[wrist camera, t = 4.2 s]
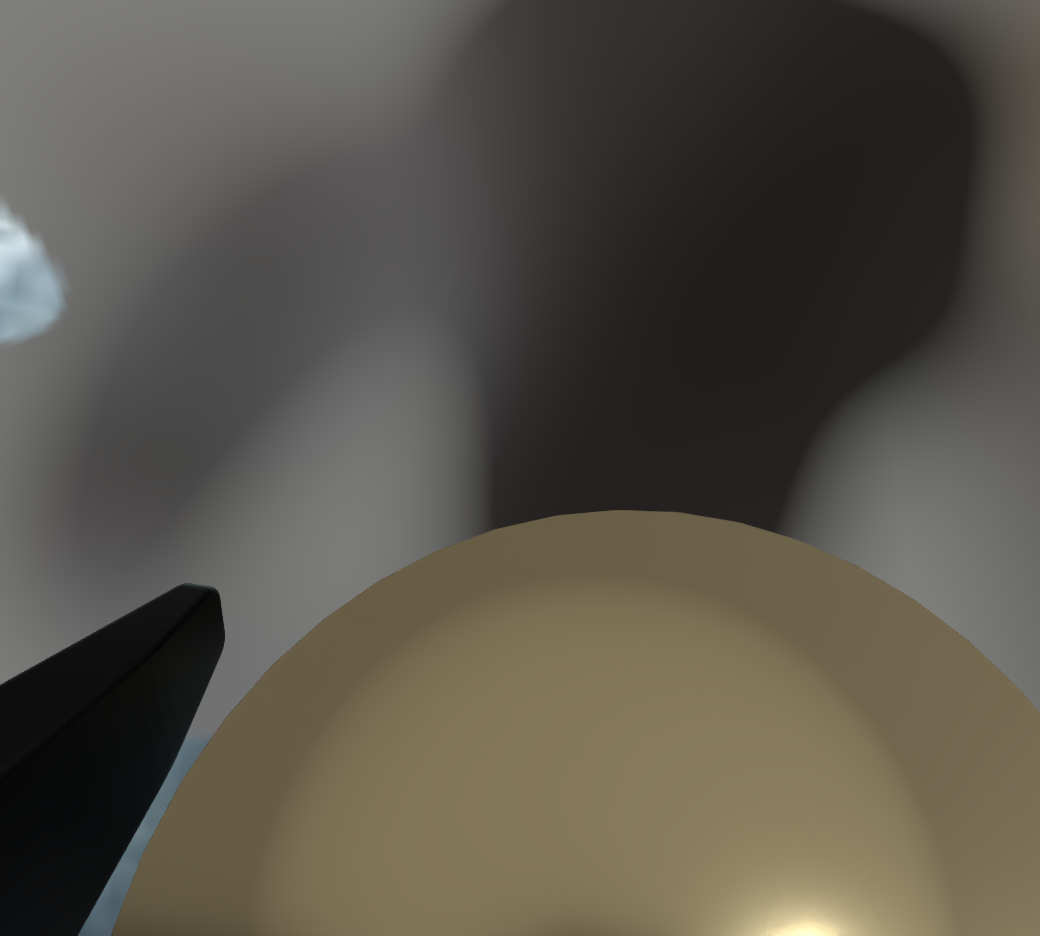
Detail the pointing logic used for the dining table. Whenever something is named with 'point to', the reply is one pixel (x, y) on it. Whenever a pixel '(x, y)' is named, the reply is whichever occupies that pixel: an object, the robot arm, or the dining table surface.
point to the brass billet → (612, 755)
